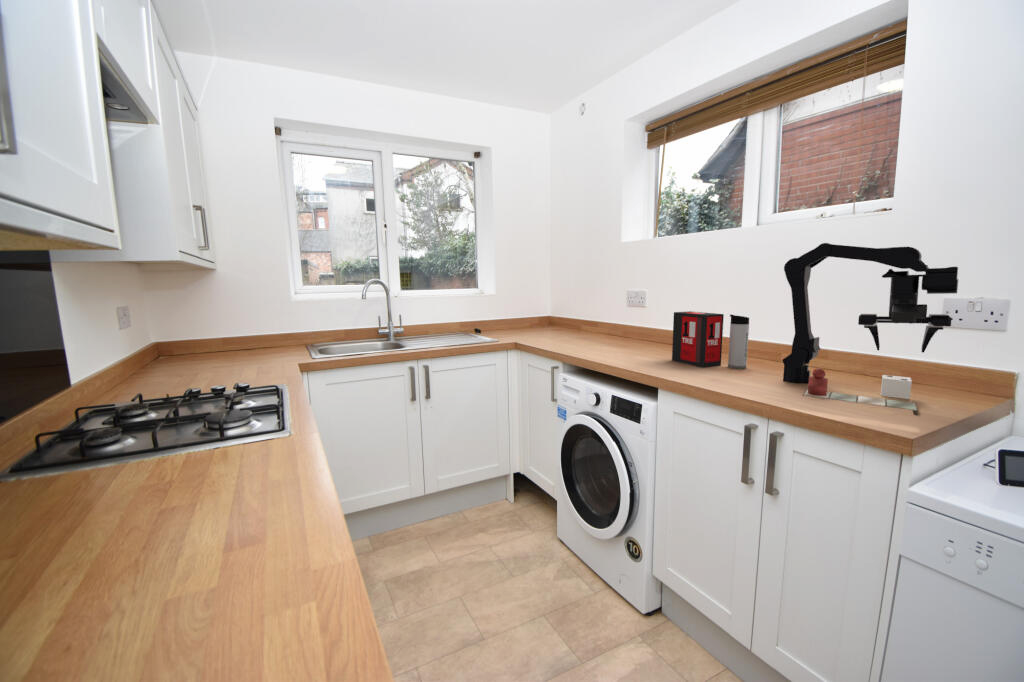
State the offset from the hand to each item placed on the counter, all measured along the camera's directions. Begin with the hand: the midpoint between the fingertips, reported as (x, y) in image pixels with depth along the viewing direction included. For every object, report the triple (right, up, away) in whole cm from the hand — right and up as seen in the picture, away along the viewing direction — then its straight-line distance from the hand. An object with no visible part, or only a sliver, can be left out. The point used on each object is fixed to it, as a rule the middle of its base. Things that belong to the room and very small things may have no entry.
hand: (899, 351), depth 122 cm
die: (0, -13, +2) cm, 14 cm away
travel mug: (-22, -7, +46) cm, 52 cm away
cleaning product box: (-33, -6, +56) cm, 65 cm away
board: (-13, -14, -2) cm, 19 cm away
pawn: (-20, -12, +4) cm, 24 cm away
